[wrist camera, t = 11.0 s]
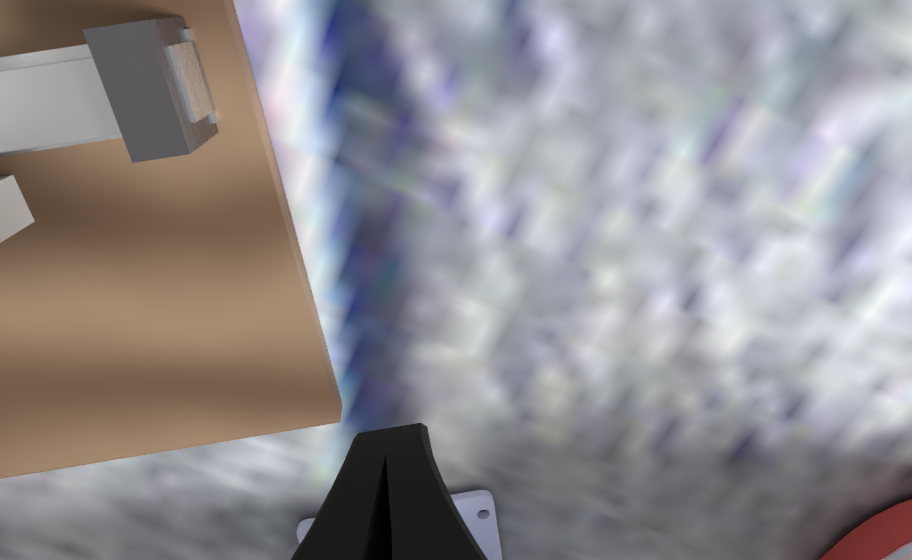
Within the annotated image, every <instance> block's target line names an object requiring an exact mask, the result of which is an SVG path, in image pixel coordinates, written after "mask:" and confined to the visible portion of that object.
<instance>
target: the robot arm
mask: <svg viewBox="0 0 912 560" xmlns="http://www.w3.org/2000/svg"><path fill="white" fill-rule="evenodd" d="M480 510H486V511H484V512H479V511H480ZM297 538H298V541H299V544H300V545H299V547H298V548H297V550H296V552H295V553H294V555H293V557H292V558H291V560H502V553H501V546H500V540H499V533H498V526H497V520H496V513H495V506H494V500H493V496H492V494H491V493H490V492H489V491H486V490H476V491H470V492H464V493H458V494H452V495H450V494H449V492H448V490H447V488H446V486H445V484H444V482H443V480H442V477H441V475H440V473H439V470H438V468H437V465H436V462H435V460H434V457H433V454H432V449H431V444H430V438H429V433H428V428H427V426H425V425H423V424H422V423H417V424H411V425H405V426H399V427H393V428H387V429H381V430H375V431H369V432H363V433H358V434H357V436H356V437H355V438H354V440H353V442H352V444H351V447H350V449H349V452H348V454H347V456H346V458H345V461H344V463H343V465H342V467H341V469H340V471H339V473H338V476H337V478H336V480H335V482H334V484H333V486H332V488H331V490H330V492H329V494H328V495H327V497H326V499H325V501H324V503H323V505H322V507H321V509H320V511H319V512H318V514H317V516H316V518H310V519H306V520H303V521H301V522H300V523H299V525H298V527H297Z"/></svg>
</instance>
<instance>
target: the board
mask: <svg viewBox="0 0 912 560" xmlns="http://www.w3.org/2000/svg"><path fill="white" fill-rule="evenodd" d="M182 16H184V20H185V23H186V26H187V29H189V28H191V29H192V33H193V36H194V39H195V43H196V46H197V49H198V52H199V56H200V59H201V62H202V66H203V69H204V72H205V75H206V79H207V82H208V85H209V89H210V92H211V95H212V99H213V102H214V105H215V108H216V112H217V115H218V118H219V121H218V122H217V123H216V124H217V127H218V131H219V132H218V133H217V134H216V135H215V136H213V137H212V138H211V139H209V140H208V141H207V142H205V143H204V144H203V145H201V146H200V147H199V148H198V149H196V150H195V151H194V152H192V153H191V154H187V155H181V156H175V157H168V158H162V159H156V160H149V161H143V162H136V163H132V161H131V158H130V155H129V153H128V150H127V148H126V145H125V142H124V140H123V137H122V138H116V139H110V140H103V141H97V142H90V143H84V144H77V145H71V146H65V147H58V148H52V149H45V150H39V151H33V152H26V153H20V154H13V155H7V156H1V157H0V177H2V176H8V175H13V176H14V178H15V180H16V182H17V184H18V186H19V189H20V191H21V193H22V195H23V197H24V199H25V201H26V204H27V206H28V208H29V210H30V212H31V214H32V216H33V219H34V221H35V222H33V223H31V224H30V225H28V226H27V227H25V228H23V229H22V230H20V231H19V232H17V233H15V234H14V235H12V236H11V237H9V238H7V239H6V240H4V241H3V242H1V243H0V479H1V478H7V477H13V476H19V475H25V474H31V473H37V472H43V471H49V470H55V469H61V468H67V467H73V466H79V465H85V464H91V463H97V462H103V461H109V460H115V459H121V458H127V457H133V456H139V455H145V454H151V453H158V452H164V451H170V450H176V449H182V448H188V447H194V446H200V445H206V444H212V443H218V442H224V441H230V440H236V439H242V438H248V437H254V436H260V435H266V434H272V433H278V432H284V431H290V430H296V429H302V428H308V427H314V426H320V425H326V424H332V423H338V422H340V419H341V411H342V402H341V398H340V394H339V391H338V387H337V383H336V380H335V376H334V372H333V369H332V365H331V361H330V357H329V354H328V350H327V346H326V343H325V339H324V335H323V332H322V328H321V324H320V320H319V317H318V313H317V309H316V306H315V302H314V298H313V295H312V291H311V287H310V284H309V280H308V276H307V272H306V269H305V265H304V261H303V258H302V254H301V250H300V247H299V243H298V239H297V236H296V232H295V228H294V224H293V221H292V217H291V213H290V210H289V206H288V202H287V199H286V195H285V191H284V188H283V184H282V180H281V176H280V173H279V169H278V165H277V162H276V158H275V154H274V151H273V147H272V143H271V140H270V136H269V132H268V128H267V125H266V121H265V117H264V114H263V110H262V106H261V103H260V99H259V95H258V92H257V88H256V84H255V80H254V77H253V73H252V69H251V66H250V62H249V58H248V55H247V51H246V47H245V44H244V40H243V36H242V32H241V29H240V25H239V21H238V18H237V14H236V10H235V7H234V3H233V0H0V57H6V56H13V55H19V54H26V53H32V52H39V51H46V50H52V49H59V48H65V47H72V46H78V45H85V44H87V41H86V39H85V36H84V33H83V31H82V30H84V29H91V28H97V27H104V26H110V25H117V24H124V23H130V22H137V21H143V20H152V19H162V18H172V17H182Z"/></svg>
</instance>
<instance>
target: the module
mask: <svg viewBox="0 0 912 560" xmlns="http://www.w3.org/2000/svg"><path fill="white" fill-rule="evenodd" d="M33 222H35V221H34V219H33V216H32V214H31V212H30V210H29V208H28V206H27V204H26V201H25V199H24V197H23V195H22V193H21V191H20V189H19V186H18V184H17V182H16V180H15V178H14V176H13V175H8V176H2V177H0V243H1V242H3V241H4V240H6V239H7V238H9V237H11V236H12V235H14V234H15V233H17V232H19V231H20V230H22V229H23V228H25V227H27V226H28V225H30V224H31V223H33Z"/></svg>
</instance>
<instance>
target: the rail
mask: <svg viewBox="0 0 912 560" xmlns="http://www.w3.org/2000/svg"><path fill="white" fill-rule="evenodd" d="M82 31H83V33H84V36H85V39H86V41H87V44H85V45H78V46H72V47H65V48H59V49H52V50H46V51H39V52H32V53H26V54H19V55H13V56H6V57H0V157H1V156H7V155H13V154H20V153H26V152H33V151H39V150H45V149H52V148H58V147H65V146H71V145H77V144H84V143H90V142H97V141H103V140H110V139H116V138H122V137H123V140H124V142H125V145H126V148H127V150H128V153H129V155H130V158H131V161H132V163H136V162H143V161H149V160H156V159H162V158H168V157H175V156H181V155H187V154H191V153H192V152H194V151H195V150H196V149H198V148H199V147H200V146H201V145H203V144H204V143H205V142H207V141H208V140H209V139H211V138H212V137H213V136H215V135H216V134H217V133H218V132H219V131H218V127H217V124H216V123H217V122H218V121H219V118H218V115H217V112H216V108H215V105H214V102H213V99H212V95H211V92H210V89H209V85H208V82H207V79H206V75H205V72H204V69H203V66H202V62H201V59H200V56H199V52H198V49H197V46H196V43H195V39H194V36H193V33H192V29H191V28H189V29H187V26H186V23H185V20H184V16H182V17H172V18H162V19H152V20H143V21H137V22H130V23H124V24H117V25H110V26H104V27H97V28H91V29H84V30H82Z"/></svg>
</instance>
